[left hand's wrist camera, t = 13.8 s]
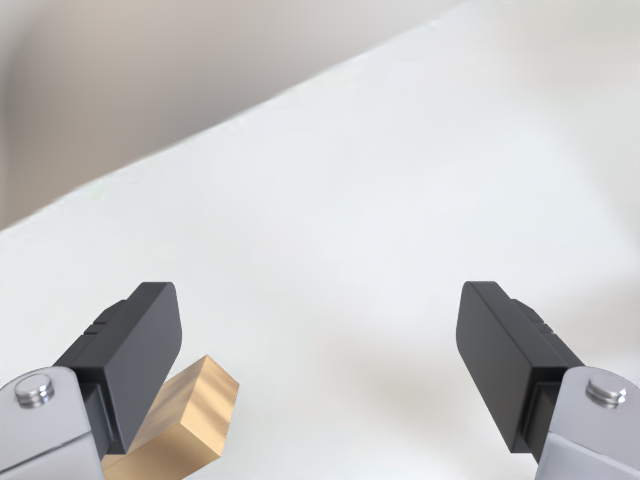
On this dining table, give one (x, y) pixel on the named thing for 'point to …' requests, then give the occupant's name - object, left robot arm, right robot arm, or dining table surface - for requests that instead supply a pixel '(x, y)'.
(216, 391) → the bar
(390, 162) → the dining table surface
